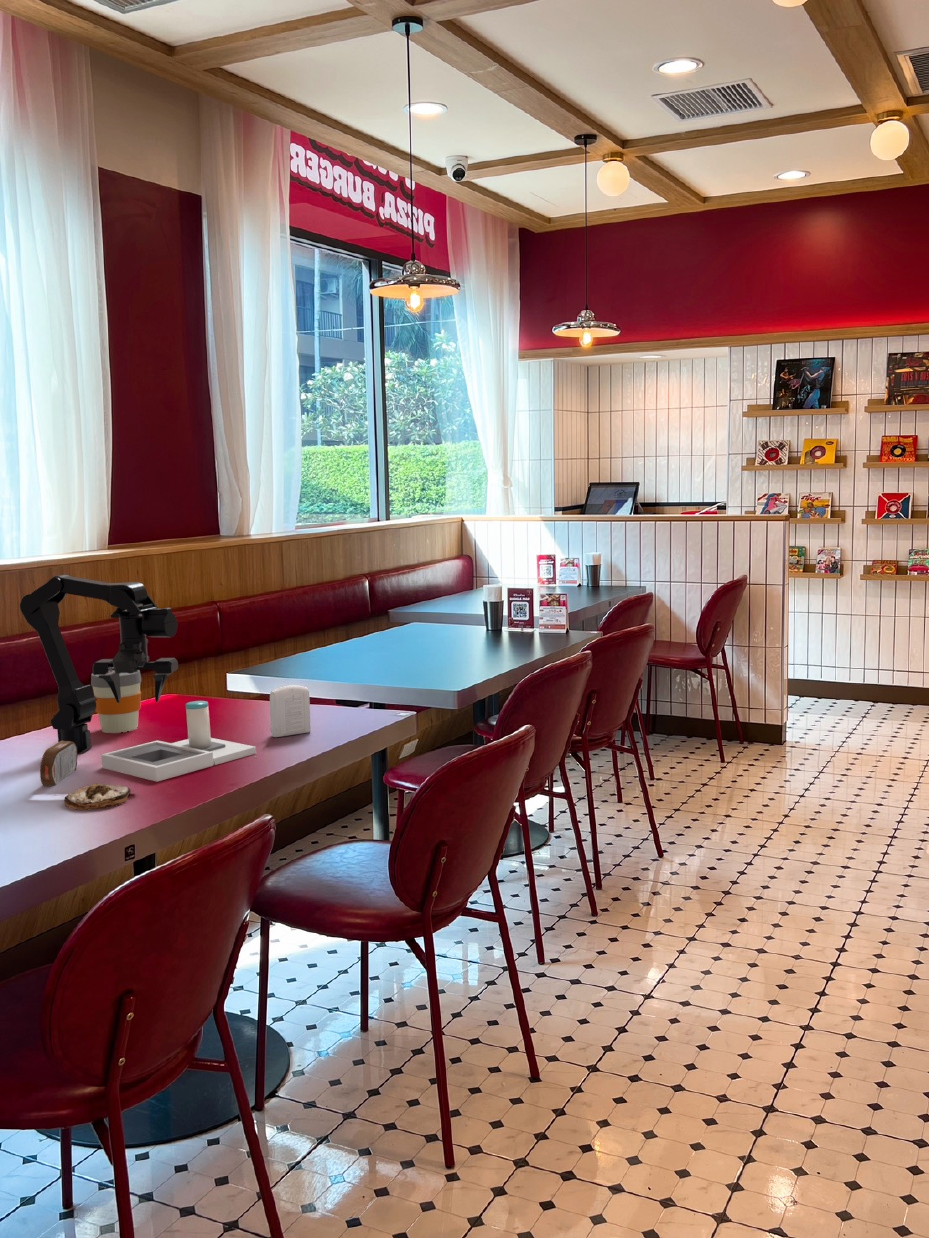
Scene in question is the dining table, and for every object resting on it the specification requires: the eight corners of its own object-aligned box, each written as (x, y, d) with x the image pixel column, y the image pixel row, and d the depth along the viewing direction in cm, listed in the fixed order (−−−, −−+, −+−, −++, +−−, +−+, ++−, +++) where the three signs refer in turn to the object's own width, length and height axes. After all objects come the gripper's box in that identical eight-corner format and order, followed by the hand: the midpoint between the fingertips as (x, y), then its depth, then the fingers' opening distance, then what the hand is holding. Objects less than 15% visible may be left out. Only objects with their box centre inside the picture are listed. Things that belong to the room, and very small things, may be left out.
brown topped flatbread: (100, 789, 235) (98, 770, 234) (151, 797, 228) (150, 778, 227) (43, 808, 222) (41, 788, 222) (96, 818, 215) (94, 797, 214)
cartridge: (190, 749, 252) (186, 706, 251) (188, 744, 257) (184, 702, 255) (212, 746, 254) (208, 704, 252) (210, 741, 258) (206, 700, 257)
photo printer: (306, 729, 282) (304, 681, 280) (313, 732, 278) (311, 684, 277) (268, 735, 276) (266, 687, 275) (275, 738, 273) (273, 689, 271)
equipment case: (102, 771, 247) (101, 754, 246) (201, 745, 268) (200, 729, 267) (157, 785, 234) (156, 767, 234) (256, 757, 256) (255, 740, 255)
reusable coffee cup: (144, 732, 284) (140, 674, 282) (92, 736, 281) (88, 678, 279) (145, 721, 296) (141, 666, 294) (96, 725, 293) (92, 670, 291)
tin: (67, 772, 247) (64, 736, 246) (81, 772, 247) (78, 735, 246) (39, 792, 232) (36, 753, 231) (54, 792, 232) (51, 753, 231)
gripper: (80, 643, 250) (85, 710, 252) (161, 641, 249) (165, 709, 251) (99, 635, 261) (104, 700, 264) (176, 634, 260) (181, 698, 262)
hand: (138, 702), depth 260 cm, fingers open, 9 cm apart
